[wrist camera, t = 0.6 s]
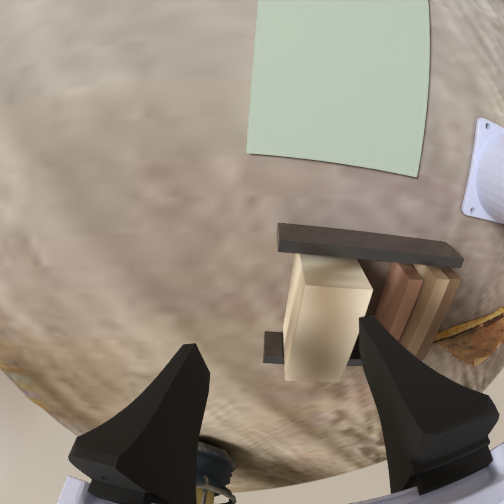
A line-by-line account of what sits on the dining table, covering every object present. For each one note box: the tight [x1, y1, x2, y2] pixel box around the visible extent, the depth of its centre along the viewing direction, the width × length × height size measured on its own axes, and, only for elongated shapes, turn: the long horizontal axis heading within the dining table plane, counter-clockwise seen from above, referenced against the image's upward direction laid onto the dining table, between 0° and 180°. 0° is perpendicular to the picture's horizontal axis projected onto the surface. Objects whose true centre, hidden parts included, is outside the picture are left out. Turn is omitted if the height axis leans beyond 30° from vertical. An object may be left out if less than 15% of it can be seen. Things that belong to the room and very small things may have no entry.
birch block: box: [283, 253, 373, 382], centre depth 20 cm, size 4×8×6 cm, turn 176°
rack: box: [263, 223, 464, 366], centre depth 22 cm, size 14×11×3 cm
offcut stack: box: [374, 262, 461, 360], centre depth 21 cm, size 4×8×4 cm, turn 176°
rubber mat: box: [246, 0, 430, 177], centre depth 14 cm, size 12×20×1 cm, turn 176°
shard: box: [434, 307, 504, 367], centre depth 24 cm, size 11×8×2 cm
